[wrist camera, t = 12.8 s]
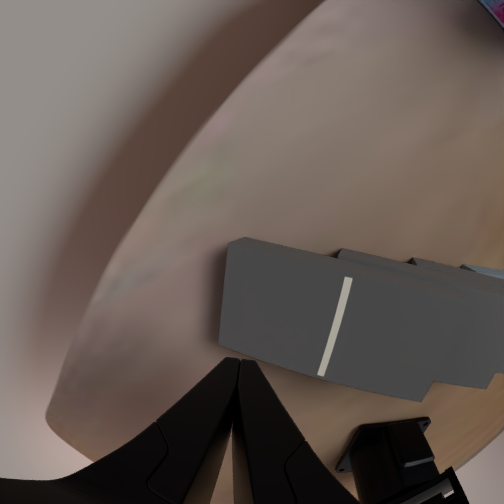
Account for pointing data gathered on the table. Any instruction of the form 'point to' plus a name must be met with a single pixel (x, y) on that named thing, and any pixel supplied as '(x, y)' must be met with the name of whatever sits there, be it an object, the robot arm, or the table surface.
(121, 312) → the table surface
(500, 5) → the ink cartridge box
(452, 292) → the domino
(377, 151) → the table surface
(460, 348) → the domino
